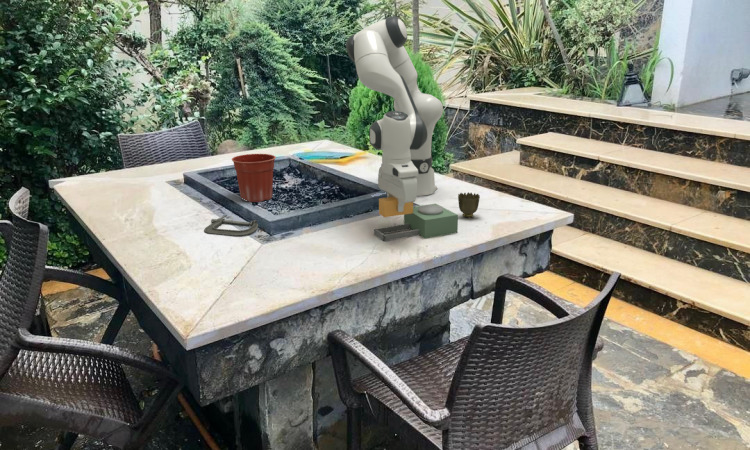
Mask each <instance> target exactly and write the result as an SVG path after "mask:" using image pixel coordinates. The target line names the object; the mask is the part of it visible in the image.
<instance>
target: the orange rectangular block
mask: <svg viewBox="0 0 750 450" xmlns="http://www.w3.org/2000/svg"><path fill="white" fill-rule="evenodd" d="M397 205H398V198H396V197H387V196H386V197H382V198H378V214H379V215H380V216H381V217H383V218H390V217H398V216H404V215H405V214H411V213H413V207H414V202H409V203H405V204H404V210H403V212H398V211H397V210H396V209H397V208H396V206H397Z"/></svg>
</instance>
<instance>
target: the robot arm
mask: <svg viewBox="0 0 750 450" xmlns="http://www.w3.org/2000/svg"><path fill="white" fill-rule="evenodd" d="M407 41H408V30H407V27H406V25H405V23H404V22H403V20H402V19H401V18H400V17H398V16H396V15H391V16H388V17H386V18H385V19H381V20H379V21H376V22H374V23H372V24H369V25H368V26H366V27H365V28H363V29H361V30H360V31H358V32H357V33H353V34H352V35H351V36H349V37H348V38H347V40H346V43H345V47H346V48H345V49H346V52H347V55H348V56H349V58H350V60H351V61H352V62H353V63H354V64H355V70H356V73H357V77H358V79H359V82H360V83H361V84H362V85H363V86H364V87H366V88H367V89H369V90H372V91H375V92H378V93H381V94H384V95H387V96H389V97H392V98H393V109H394V110H391V111H387V112H386V113H384V115H383V118H380V119H379V120H375V121H374V122H373V123H372V124H371V125H370V127H369V131H368V134H369V144H370V145H371V146H372V147H373V148H374V149H375V150H378V151H382V155H381V163H380V167H379V168H378V174H377V175H378V177H377V185H378V188H379V189H380V190H382V191H384V192H385V193H386V198H387V197H396V198H398V205H397V206H396V208H397V209H396V210H397V211H398V212H403V210H404V204H405V203H409V202H413V203H414V202H415V201H416V200H417V197H420V196H428V195H432V194H434V193H435V192H436V190H438V186H437V185H436V181H435V178H436V177H435V170H434V168H432V166H433V157H432V140H433V138H432V137H433V134H434V131H435V130H434V129H435V126H436V124H437V123H438V121H439V120H440V119H441V118H442V116H443V113H444V106H443V103H442V101H441V100H440V99H439V98H437V97H436V96H435V95H434V96H433V95H432V94H430V93H424V92H422V91H421V90H420V89H419V86H418V80H417V79H418V72H417V70H416V68H415V66H414V64H413V61H412V60H411V57H410V55H409V53H408V52H407V49H406V48H405V46H404V45H405V44H406V43H407Z"/></svg>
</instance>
